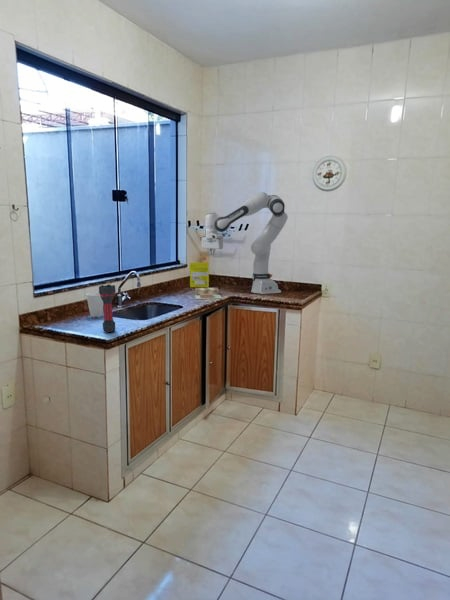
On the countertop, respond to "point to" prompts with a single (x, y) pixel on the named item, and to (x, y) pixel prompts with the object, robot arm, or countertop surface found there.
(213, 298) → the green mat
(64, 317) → the countertop surface
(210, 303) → the countertop surface
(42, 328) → the countertop surface
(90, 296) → the foam cup
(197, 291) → the birch deck
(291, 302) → the countertop surface
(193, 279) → the food package
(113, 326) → the flashlight
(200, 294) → the terracotta tile
